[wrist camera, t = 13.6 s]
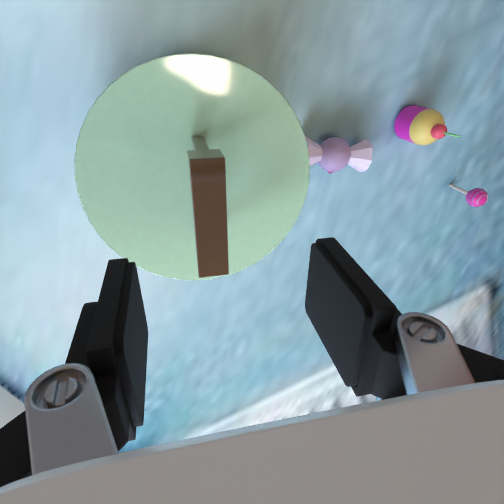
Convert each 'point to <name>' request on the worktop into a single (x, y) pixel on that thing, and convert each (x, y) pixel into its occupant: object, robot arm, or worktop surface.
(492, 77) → the worktop surface
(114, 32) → the worktop surface
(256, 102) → the lid
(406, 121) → the candies
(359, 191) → the worktop surface
